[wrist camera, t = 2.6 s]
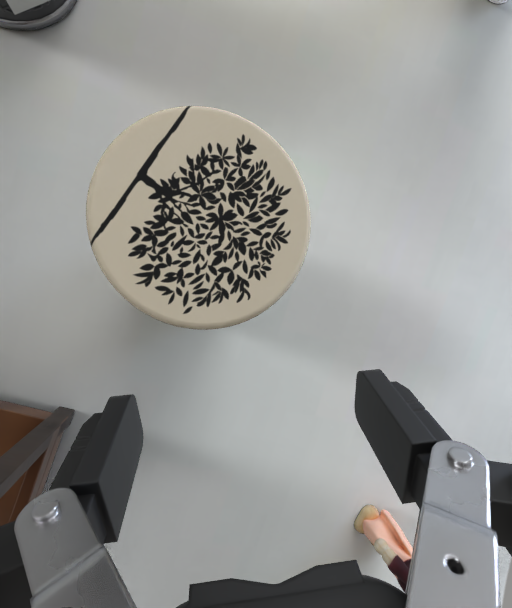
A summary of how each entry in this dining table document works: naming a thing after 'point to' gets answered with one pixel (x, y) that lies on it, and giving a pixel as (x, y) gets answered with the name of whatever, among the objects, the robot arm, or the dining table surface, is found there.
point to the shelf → (26, 453)
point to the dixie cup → (498, 1)
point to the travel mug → (198, 217)
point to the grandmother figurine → (386, 541)
